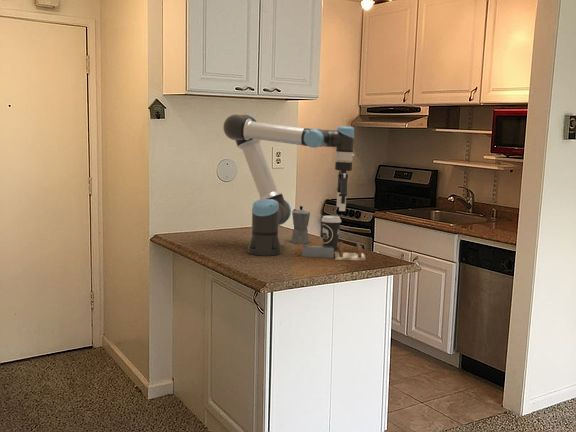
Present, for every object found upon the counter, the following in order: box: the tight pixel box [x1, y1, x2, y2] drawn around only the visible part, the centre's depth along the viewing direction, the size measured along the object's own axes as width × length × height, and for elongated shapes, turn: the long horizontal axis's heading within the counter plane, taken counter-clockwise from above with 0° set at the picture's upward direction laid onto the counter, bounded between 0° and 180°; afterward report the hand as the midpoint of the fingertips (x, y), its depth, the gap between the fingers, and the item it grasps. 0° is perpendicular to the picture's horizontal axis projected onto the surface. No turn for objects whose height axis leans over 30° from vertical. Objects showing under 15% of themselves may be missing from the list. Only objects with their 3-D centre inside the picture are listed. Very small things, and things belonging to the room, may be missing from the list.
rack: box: [334, 241, 366, 262], centre depth 273 cm, size 13×11×6 cm
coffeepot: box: [291, 205, 311, 245], centre depth 307 cm, size 15×9×18 cm, turn 25°
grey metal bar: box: [301, 244, 335, 259], centre depth 274 cm, size 14×5×4 cm, turn 88°
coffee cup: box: [320, 215, 342, 250], centre depth 292 cm, size 10×10×15 cm
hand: (340, 208), depth 278 cm, fingers open, 13 cm apart
